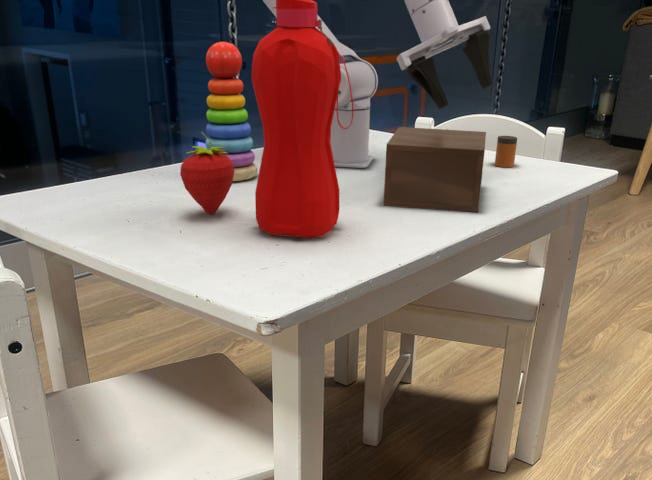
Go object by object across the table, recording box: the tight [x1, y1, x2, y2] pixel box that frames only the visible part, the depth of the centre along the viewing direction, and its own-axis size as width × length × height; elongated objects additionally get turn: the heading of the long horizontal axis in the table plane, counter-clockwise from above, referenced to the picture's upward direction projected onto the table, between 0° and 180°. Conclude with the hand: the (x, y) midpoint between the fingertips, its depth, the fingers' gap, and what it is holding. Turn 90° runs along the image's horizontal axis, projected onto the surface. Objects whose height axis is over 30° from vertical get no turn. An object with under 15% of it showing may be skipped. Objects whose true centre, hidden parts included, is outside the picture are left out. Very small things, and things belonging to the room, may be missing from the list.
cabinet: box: [383, 126, 487, 213], centre depth 100 cm, size 14×13×8 cm
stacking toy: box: [205, 41, 258, 182], centre depth 105 cm, size 8×8×19 cm
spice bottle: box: [494, 135, 518, 168], centre depth 121 cm, size 3×3×5 cm
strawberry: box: [179, 131, 235, 216], centre depth 89 cm, size 6×8×10 cm
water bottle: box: [251, 0, 353, 239], centre depth 81 cm, size 9×11×25 cm
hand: (466, 97), depth 107 cm, fingers open, 7 cm apart
